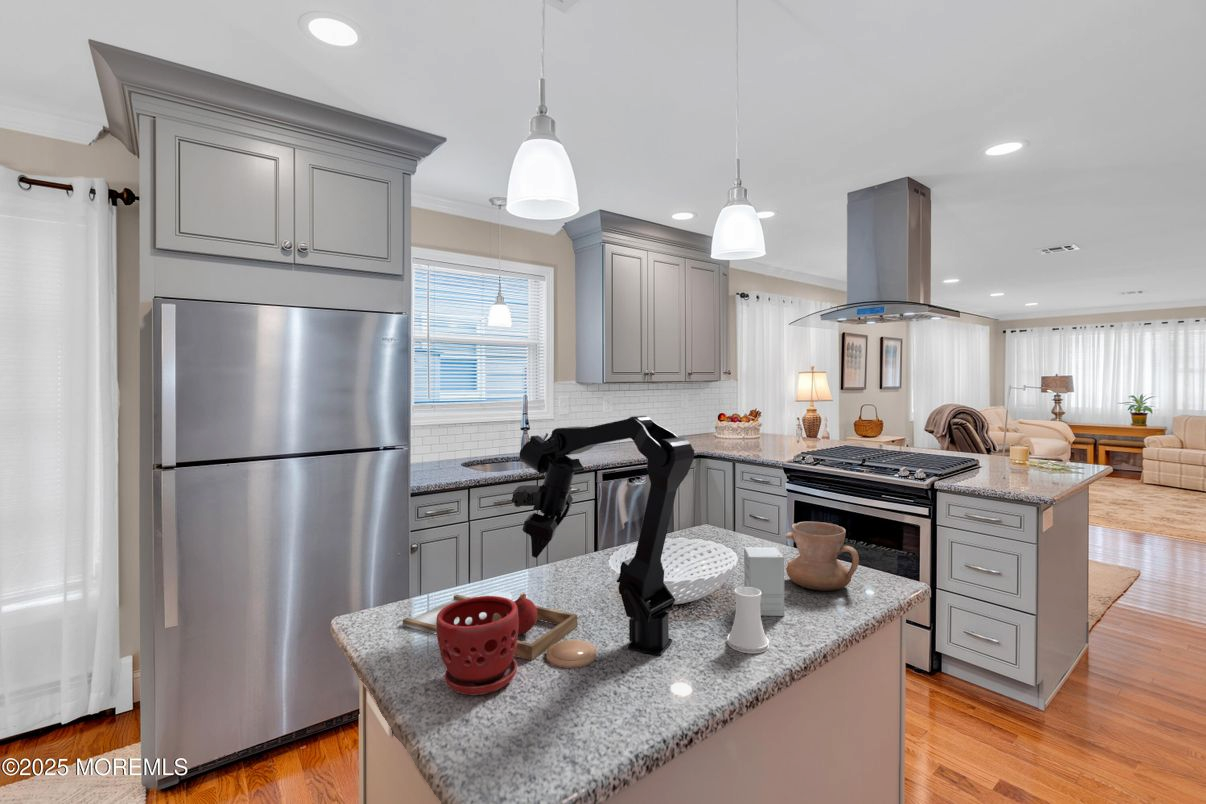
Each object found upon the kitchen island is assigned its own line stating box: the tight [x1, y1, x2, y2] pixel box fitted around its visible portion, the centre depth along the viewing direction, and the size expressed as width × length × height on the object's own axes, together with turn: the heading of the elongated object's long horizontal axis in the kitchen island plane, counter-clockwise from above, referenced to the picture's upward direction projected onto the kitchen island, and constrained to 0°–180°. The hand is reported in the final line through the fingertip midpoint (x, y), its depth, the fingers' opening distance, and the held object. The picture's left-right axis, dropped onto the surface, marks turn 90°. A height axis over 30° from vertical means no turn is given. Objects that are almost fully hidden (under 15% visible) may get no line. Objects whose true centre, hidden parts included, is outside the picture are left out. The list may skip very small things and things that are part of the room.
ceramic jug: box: [784, 521, 860, 592], centre depth 135 cm, size 18×14×14 cm
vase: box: [726, 586, 770, 654], centre depth 104 cm, size 8×8×10 cm
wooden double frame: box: [402, 594, 578, 661], centre depth 113 cm, size 32×16×2 cm, turn 62°
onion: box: [515, 592, 538, 636], centre depth 109 cm, size 6×6×8 cm
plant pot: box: [436, 595, 519, 696], centre depth 92 cm, size 13×13×12 cm
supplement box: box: [743, 546, 785, 617], centre depth 121 cm, size 7×7×13 cm
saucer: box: [545, 639, 598, 669], centre depth 100 cm, size 9×9×1 cm
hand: (540, 547), depth 122 cm, fingers open, 9 cm apart
